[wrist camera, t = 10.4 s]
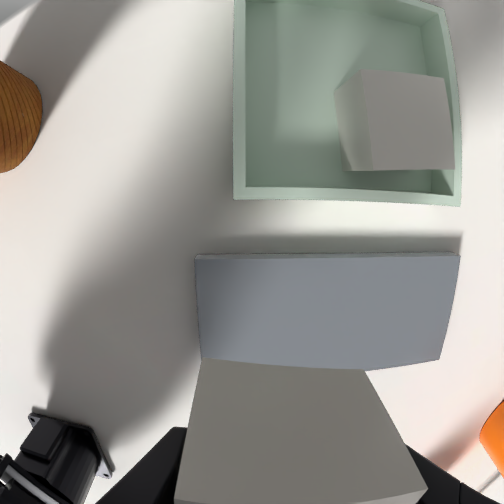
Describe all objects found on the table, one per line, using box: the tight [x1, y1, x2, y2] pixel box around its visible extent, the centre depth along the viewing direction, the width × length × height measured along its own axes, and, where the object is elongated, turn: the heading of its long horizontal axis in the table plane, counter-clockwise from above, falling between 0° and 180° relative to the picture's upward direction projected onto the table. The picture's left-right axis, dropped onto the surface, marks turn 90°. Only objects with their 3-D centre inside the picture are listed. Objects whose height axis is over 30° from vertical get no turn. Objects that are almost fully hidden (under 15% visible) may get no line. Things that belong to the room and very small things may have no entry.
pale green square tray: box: [233, 0, 462, 207], centre depth 13 cm, size 11×11×3 cm
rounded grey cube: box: [333, 69, 455, 171], centre depth 13 cm, size 4×4×4 cm
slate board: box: [195, 252, 460, 371], centre depth 17 cm, size 7×15×1 cm, turn 91°
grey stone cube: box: [174, 357, 428, 504], centre depth 6 cm, size 4×4×4 cm
